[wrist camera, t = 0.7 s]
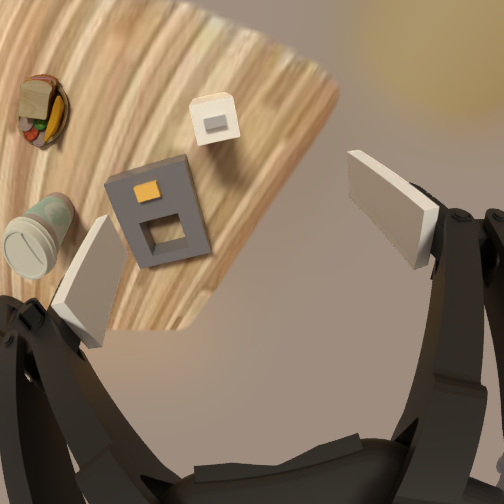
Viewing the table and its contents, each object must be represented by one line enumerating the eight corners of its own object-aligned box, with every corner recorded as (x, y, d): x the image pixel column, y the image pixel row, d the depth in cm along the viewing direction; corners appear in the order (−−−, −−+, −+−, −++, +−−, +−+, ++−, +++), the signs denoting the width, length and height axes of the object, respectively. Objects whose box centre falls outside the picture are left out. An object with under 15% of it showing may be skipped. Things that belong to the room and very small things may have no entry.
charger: (199, 127, 33) (198, 147, 24) (193, 98, 30) (188, 106, 22) (230, 121, 33) (241, 138, 24) (225, 91, 30) (233, 96, 22)
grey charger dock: (143, 256, 42) (139, 272, 39) (110, 176, 34) (102, 187, 31) (209, 241, 43) (210, 255, 40) (185, 153, 34) (184, 162, 31)
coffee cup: (83, 236, 38) (56, 287, 29) (40, 230, 36) (7, 277, 26) (81, 185, 34) (45, 229, 24) (35, 181, 31) (-8, 221, 22)
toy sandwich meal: (13, 134, 27) (0, 141, 24) (32, 69, 22) (18, 70, 19) (59, 151, 30) (48, 159, 27) (82, 82, 26) (70, 84, 23)
